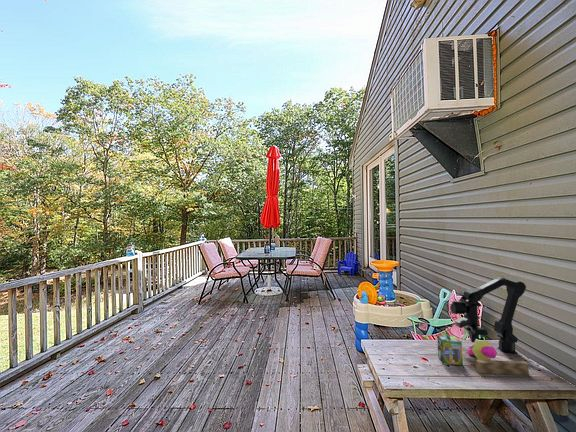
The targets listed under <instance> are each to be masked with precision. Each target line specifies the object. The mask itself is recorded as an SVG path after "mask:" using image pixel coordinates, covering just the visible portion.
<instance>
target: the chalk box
mask: <svg viewBox="0 0 576 432" xmlns="http://www.w3.org/2000/svg"><path fill="white" fill-rule="evenodd" d="M444 332H445V334H437V336H436V337H437V340H436V341H437V357H438V358H439V360H440V361H441V362H442V364H443V365H454V366H455V365H457V366H458V365H459V366H464V361H463V344H462V341H461V340H460V339H459V338H458V337H457V336H455V335H450V334H449V331H447V330H444Z"/></svg>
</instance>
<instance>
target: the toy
mask: <svg viewBox="0 0 576 432" xmlns="http://www.w3.org/2000/svg"><path fill="white" fill-rule="evenodd" d="M468 354H469V355H470V356H475V357H476V360H491V359H495V358H496V357H497V355H498V352H497V350H496V349H495V348H494V346H492V345H491V344H490V342H489V340H475V342H474V344H473V345H471V346H469V347H468Z"/></svg>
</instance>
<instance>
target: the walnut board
mask: <svg viewBox="0 0 576 432" xmlns="http://www.w3.org/2000/svg"><path fill="white" fill-rule="evenodd" d="M475 371H476V372H477V373H478V374H490V375H491V374H493V375H525V376H526V375H527V376H529V375H530V374H529V372H530V370H529V363H528V362H526V361H525V360H491V359H490V360H478V359H475Z"/></svg>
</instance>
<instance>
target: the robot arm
mask: <svg viewBox="0 0 576 432" xmlns="http://www.w3.org/2000/svg"><path fill="white" fill-rule="evenodd" d="M504 286H505V287H506V293H507V297H506V300H505V303H504V307H503V310H502V313H501V317H500V319H499V320H494V325H493V326H492V328H493V332H494V333H495V334H496V335H497V337H498V338H499V339H498V340H499V341H498V347H497V349H498V350H500V351H501V352H503V353H504V354H518V351H516V343H518V340H519V339H518V337H517V336H516V335H514V328H513V319H514V315H515V311H516V310H517V309H516V308H517V305H518V301H519V298H521V297H522V296H523V295H524V293H525V291H526V289H527V286H526V284H525V283H524V282H523V281H519V280H515V279H506V278H504V277H500V276H497V277H495V278H494V279H492V280H489V281H488V282H486V283H484V284H483V285H481V286H480V285H479V286H478V287H476V288H470V289H466V290H465V291H464V292H463V295H462V296H461V297H460V299H459V301H457V300H456V301H455V300H452V302H451V304H450V305H449V306H450V312H451V314H453V315H463V317H459V318H457V319H455V320H454V323H455V325H456V327H458V328H460V329H461V328H464V329H465V330H466V331H467V333H468V336H469V338H470V342H471V343H476V341H477V338H478V337H479V336H488V330H487V329H486V328H484V327H482V326H481V324H480V323H479V320H480V319H481V318H480V316H479V314H478V313H479V312H478V311H479V310H478V309H479V307H482V306H483V305H482V304H481V303H480V301H481V300H482V299H483V298H484V296H485V295H488V294H489V293H491V292H493V291H495V290H497V289H499V288H501V287H504Z"/></svg>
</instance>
